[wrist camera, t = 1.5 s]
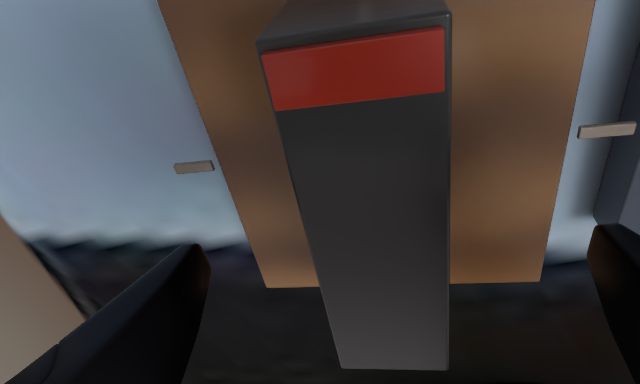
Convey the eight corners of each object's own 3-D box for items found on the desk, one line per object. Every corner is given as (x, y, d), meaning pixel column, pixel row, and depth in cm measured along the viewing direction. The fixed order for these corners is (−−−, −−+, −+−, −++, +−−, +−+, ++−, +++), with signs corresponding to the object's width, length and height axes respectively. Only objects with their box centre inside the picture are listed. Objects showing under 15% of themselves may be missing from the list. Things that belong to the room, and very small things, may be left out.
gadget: (433, 259, 15) (450, 379, 12) (350, 262, 16) (340, 377, 12) (426, -37, 10) (455, 13, 6) (297, -14, 10) (248, 44, 7)
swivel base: (560, 245, 18) (584, 295, 15) (250, 257, 20) (235, 300, 18) (661, -201, 9) (743, -226, 7) (120, -75, 12) (65, -67, 10)
